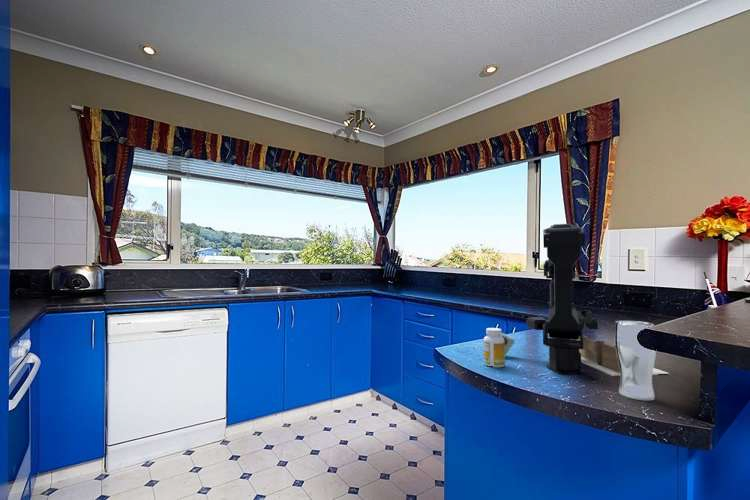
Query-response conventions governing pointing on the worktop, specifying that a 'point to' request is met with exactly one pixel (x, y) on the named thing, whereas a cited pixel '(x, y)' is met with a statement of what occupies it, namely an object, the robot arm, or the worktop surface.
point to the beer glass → (634, 361)
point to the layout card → (609, 371)
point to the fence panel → (589, 349)
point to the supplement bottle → (494, 348)
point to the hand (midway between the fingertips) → (562, 353)
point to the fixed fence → (607, 356)
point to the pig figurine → (507, 342)
